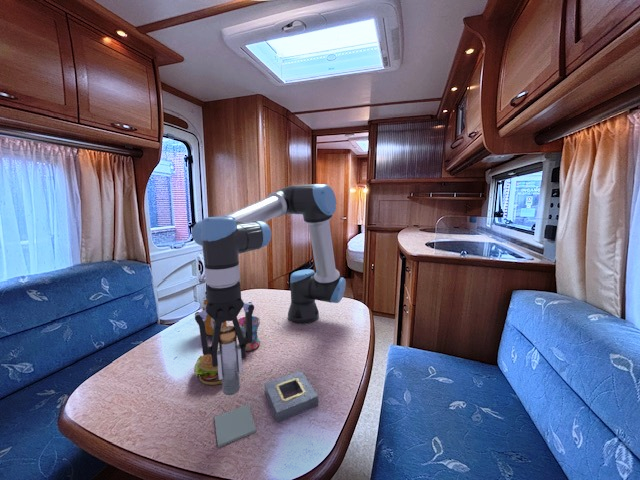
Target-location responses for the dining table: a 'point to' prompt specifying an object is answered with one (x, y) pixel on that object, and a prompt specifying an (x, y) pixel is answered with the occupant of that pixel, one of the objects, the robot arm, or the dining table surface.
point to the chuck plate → (294, 403)
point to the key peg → (229, 360)
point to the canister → (210, 321)
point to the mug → (255, 326)
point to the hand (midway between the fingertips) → (230, 372)
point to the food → (207, 370)
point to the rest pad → (234, 425)
